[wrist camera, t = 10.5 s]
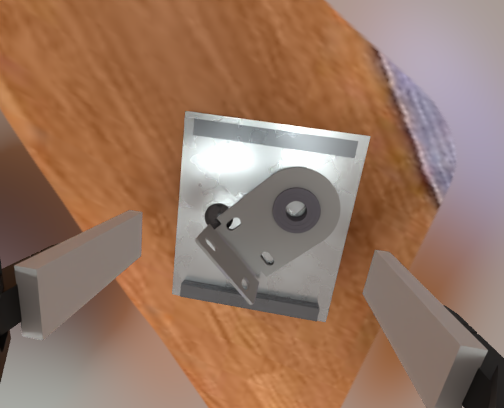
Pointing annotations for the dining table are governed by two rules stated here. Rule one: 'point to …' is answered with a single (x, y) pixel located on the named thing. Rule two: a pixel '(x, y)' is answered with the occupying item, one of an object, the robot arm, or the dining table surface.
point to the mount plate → (244, 181)
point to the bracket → (271, 227)
